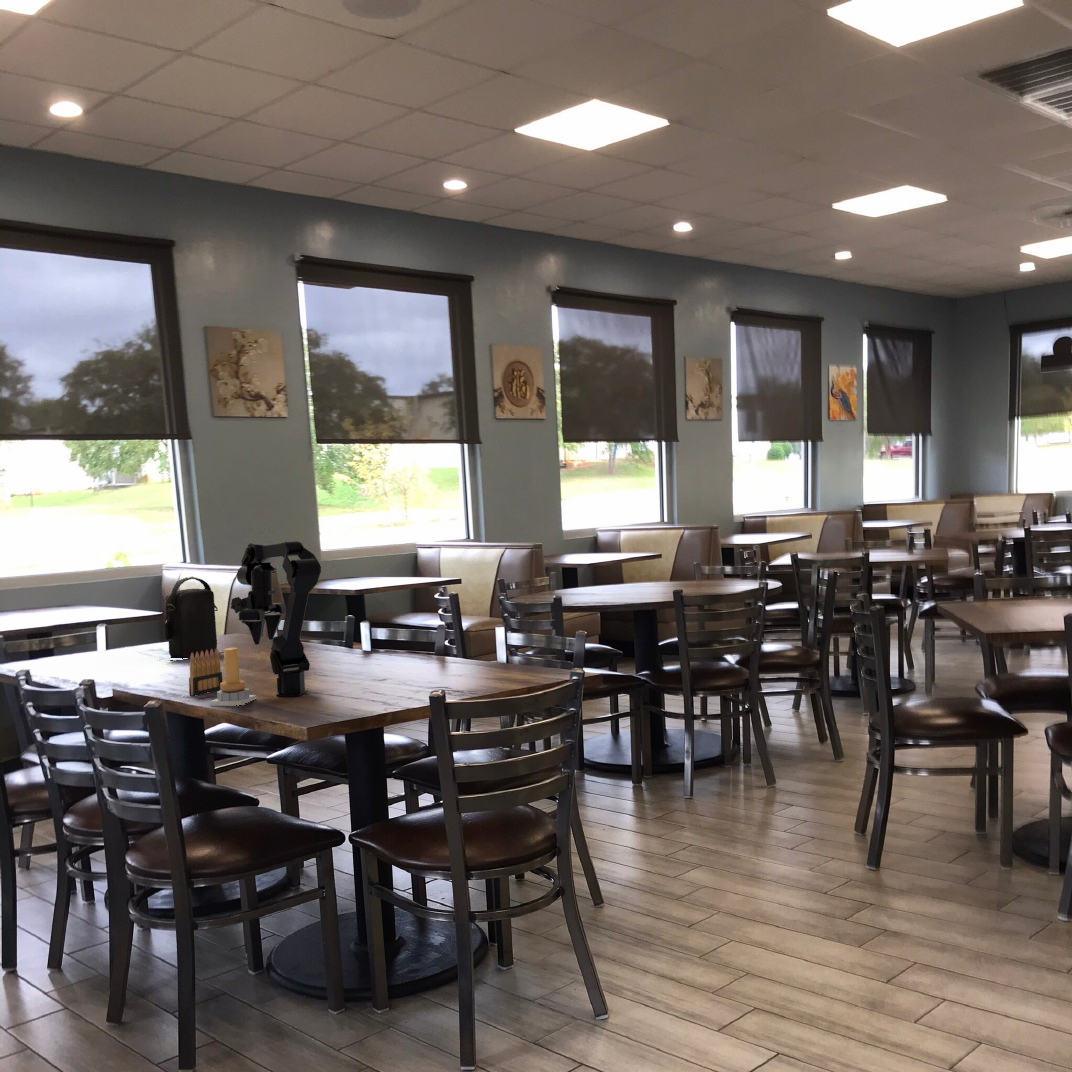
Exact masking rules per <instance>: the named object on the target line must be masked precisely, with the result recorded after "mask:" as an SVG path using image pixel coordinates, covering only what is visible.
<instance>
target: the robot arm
mask: <svg viewBox="0 0 1072 1072" xmlns="http://www.w3.org/2000/svg"><path fill="white" fill-rule="evenodd" d="M289 557H297V558H299V559H292V560H290V558H289ZM277 558H283V559H282V569H283V570H284V572H285V574H286V578H285V579H286V580H287V581H286V582H288V585H289V587H290V589H289V596H288V601H287V605H285V604H284V602H274V596H273V595H274V594H276V589H273V572H274V571H275V567H273V566H272V565H271V564H272V562H275V561H276V560H277ZM240 565H241V566H240V567H239V569H237V572H236V580H237V581H238V582H239V583H240V584H241V585H245V586H251V590H249V591H248V592H247V597H244V598H241V597H239V596H236V597H234V598H231V602H230V609H231V610H233V611H234V613H235V614H238V621H241V623H242V624H245V625H246V626H247V628H249V629H248V630H249V631H250V635H251V637H252V641H253V642H254V645H257V646H258V645H259V644H260V643H261V638H262V635H263V631H264V628H265V627H264V626H266V630H267V631H266V632H267V637H268V640H270V641H272V644H271V648H270V650H271V651H270V653H269V659H270V665H271V670H272V674H274V675H277V678H276V690H277V693H276V697H300V696H302V695H305V694H307V693H308V690H306V684H305V683H306V682H305V680H306V679H305V672H307V671H308V672H309V671H310V665H311V663H310V661H309V659H308V657H307V655H306V653H305V646H304V645H303V642H302V640H301V634H302V629H303V626H304V625H303V624H304V620H305V616H306V615H305V614H306V609H307V605H308V600H309V594H310V592H311V591H312V590H313V588H315V587H316V586H317V584H318V583H319V579H320V576H321V573H322V567H321V564H320V562H319V561H318V558H317V557H316V555H315V553H312V552H311V551H310V550H308V549H307V548H305V547H304V545H303V543H302V542H301V541H298V540H292V541H291V540H289V541H288V540H287V541H284V542H281V543H280V542H278V543H274V542H271V541H269V542H268V541H267V542H263V541H262V542H250V543H249V544H248V545H247V547H246V549H245V550H244V554H243V557H242V559H241V564H240ZM284 616H285V617H284ZM283 617H284V620H283V626H282V631H281V634H280V635H277V636H276V632H277V631H278V628H279V626H280V624H281V621H282V619H283ZM265 623H266V625H265ZM306 692H307V693H306Z"/></svg>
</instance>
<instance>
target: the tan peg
mask: <svg viewBox="0 0 1072 1072" xmlns="http://www.w3.org/2000/svg"><path fill="white" fill-rule="evenodd" d="M223 651H224V652H223V655H224V671H225V672H224V675H225V678H224V679H225V681H223V682H222V683H220V690H222V691H226V693H231V692H239V691H240V690H242V689H245V688H247V685H246V684H247V683H246V682H247V681H246V680H243V679H241V677H240V676H241V675H240V654H239V648H238V647H226V648H224V649H223Z"/></svg>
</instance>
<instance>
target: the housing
mask: <svg viewBox="0 0 1072 1072" xmlns="http://www.w3.org/2000/svg"><path fill="white" fill-rule="evenodd" d="M216 694H217V697H216V698H215V699H213V700H210V701H209V702H210V703H209V705H210V707H240V706H239V705H242V706H244V705H246V704H245V703H247V704H249V703H251V702H250V701H252V700H254V699H256V700H257V695H256V694H250V688H248V687H246V688H245V689H242V690H240V691H239V692H231V693H226V691H222V690H219V691H216ZM254 701H255V700H254ZM248 702H249V703H248ZM252 702H253V701H252ZM236 705H237V706H236Z"/></svg>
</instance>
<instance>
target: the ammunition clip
mask: <svg viewBox="0 0 1072 1072" xmlns="http://www.w3.org/2000/svg"><path fill="white" fill-rule="evenodd" d="M218 651H219V649H218V647H217V648H216V650H215V653H214V652H213V650H212V649H211V651H210V655H209V653H208V650H206V653H205V656H204V653H203V651H201V654H200V657H199V654H198V652H196V656H195V658H194V654H193V652H192V653H191V657H190V659H189V663H190V665H189V677H188V681H189V683H188V684H189V685H188V689H189V694H188V695H190V697H196V696H195V695H198V696H201V695H200V694H202V695H205V694H204V693H207V692H211V693H213V692H212V691H215V692H217V690H220V683H222V682H224V681H223V672H222V671H221V661H220V660H221V659H220V653H219V652H218ZM207 694H208V693H207Z"/></svg>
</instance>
